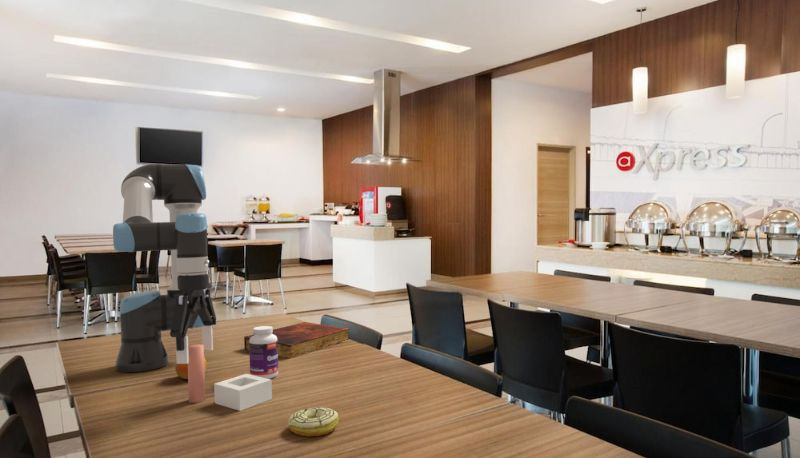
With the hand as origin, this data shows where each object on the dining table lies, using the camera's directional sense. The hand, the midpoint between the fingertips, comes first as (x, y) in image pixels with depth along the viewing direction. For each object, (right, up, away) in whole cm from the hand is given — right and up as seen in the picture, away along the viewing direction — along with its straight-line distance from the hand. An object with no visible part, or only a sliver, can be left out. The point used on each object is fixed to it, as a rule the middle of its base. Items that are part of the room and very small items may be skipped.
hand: (195, 356), depth 139 cm
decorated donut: (+33, -12, -20) cm, 40 cm away
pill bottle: (+13, -11, +20) cm, 26 cm away
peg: (0, -11, +1) cm, 11 cm away
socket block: (+13, -11, -1) cm, 17 cm away
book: (+16, -10, +58) cm, 61 cm away
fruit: (-9, -11, +21) cm, 25 cm away
